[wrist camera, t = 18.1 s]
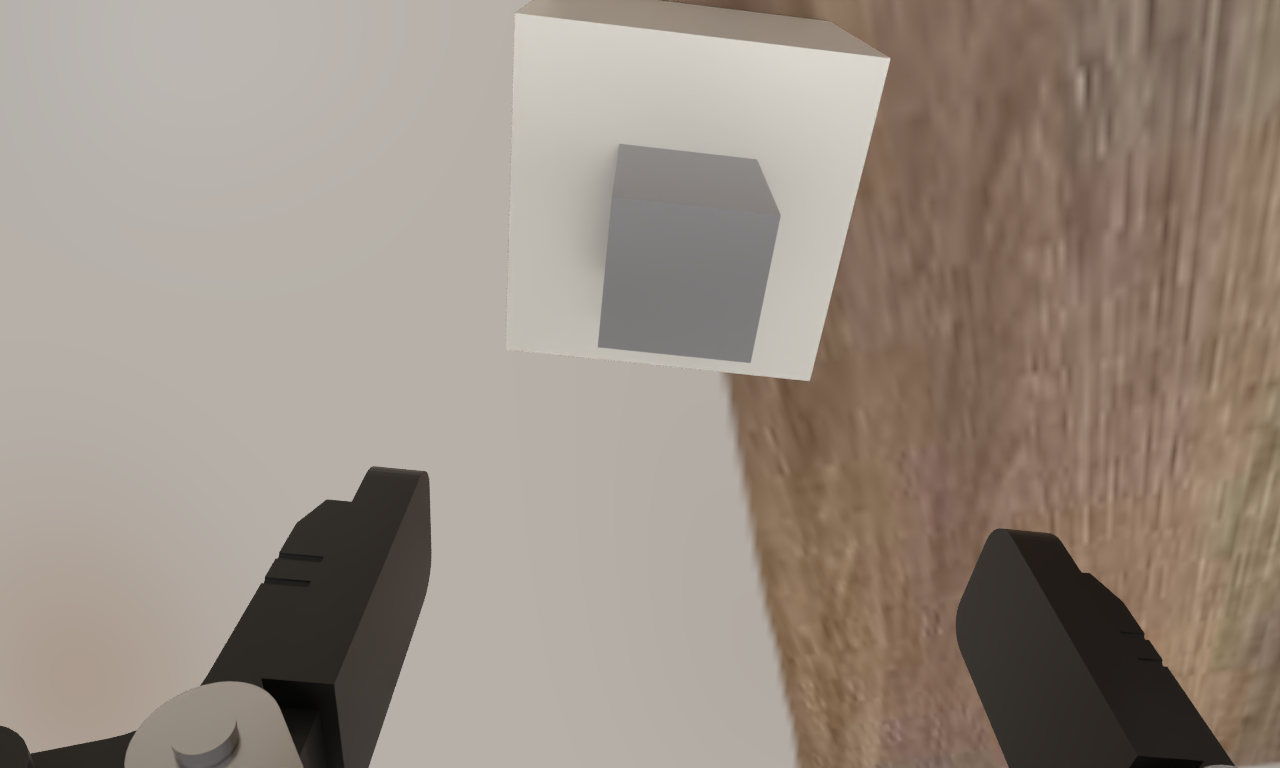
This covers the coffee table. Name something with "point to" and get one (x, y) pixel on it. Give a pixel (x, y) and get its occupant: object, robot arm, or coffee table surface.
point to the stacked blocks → (682, 182)
